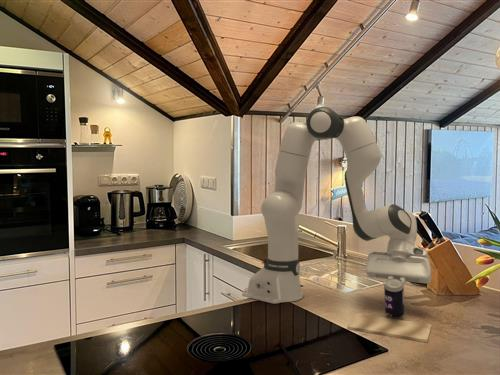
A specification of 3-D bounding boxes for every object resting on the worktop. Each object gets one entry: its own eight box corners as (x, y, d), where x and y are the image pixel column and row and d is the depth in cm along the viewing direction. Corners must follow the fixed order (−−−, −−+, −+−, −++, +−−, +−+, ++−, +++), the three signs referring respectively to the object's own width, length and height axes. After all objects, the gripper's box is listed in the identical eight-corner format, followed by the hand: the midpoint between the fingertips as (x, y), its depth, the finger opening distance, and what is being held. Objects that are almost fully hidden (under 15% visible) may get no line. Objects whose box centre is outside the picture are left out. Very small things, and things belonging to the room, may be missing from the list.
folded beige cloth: (347, 329, 128) (347, 326, 128) (357, 315, 138) (357, 313, 138) (427, 342, 117) (427, 339, 117) (431, 327, 128) (431, 324, 128)
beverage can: (389, 305, 140) (388, 275, 135) (407, 311, 137) (406, 280, 132) (382, 316, 136) (381, 285, 131) (400, 322, 133) (399, 290, 128)
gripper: (367, 246, 147) (360, 281, 139) (432, 251, 138) (429, 289, 130) (370, 256, 151) (363, 291, 143) (433, 262, 142) (430, 299, 134)
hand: (395, 290), depth 136 cm, fingers closed
